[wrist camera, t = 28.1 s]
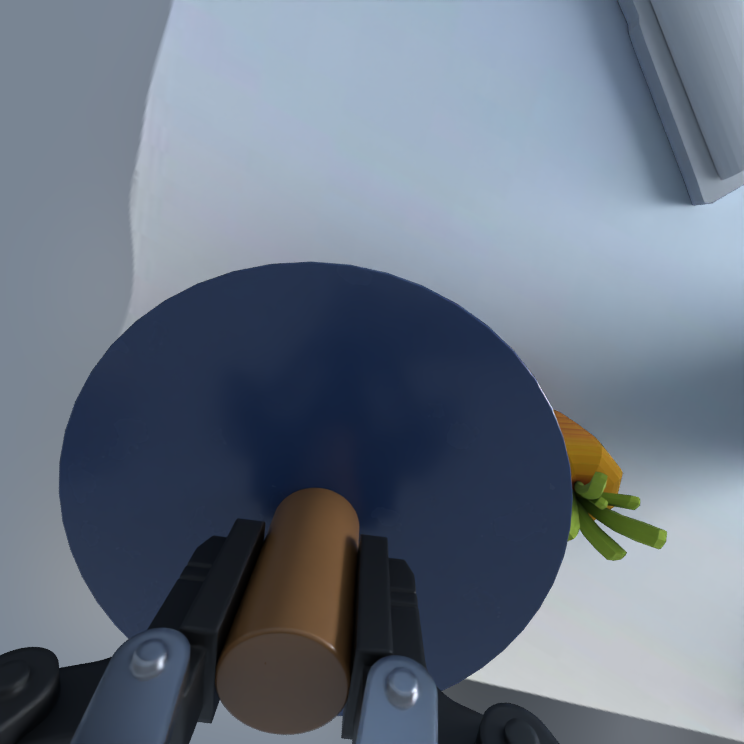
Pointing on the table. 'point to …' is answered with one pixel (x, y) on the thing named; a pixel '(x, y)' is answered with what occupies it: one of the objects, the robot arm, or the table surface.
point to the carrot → (601, 495)
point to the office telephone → (696, 85)
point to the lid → (318, 474)
